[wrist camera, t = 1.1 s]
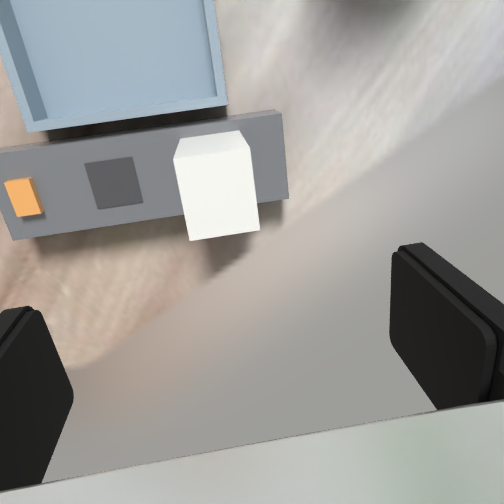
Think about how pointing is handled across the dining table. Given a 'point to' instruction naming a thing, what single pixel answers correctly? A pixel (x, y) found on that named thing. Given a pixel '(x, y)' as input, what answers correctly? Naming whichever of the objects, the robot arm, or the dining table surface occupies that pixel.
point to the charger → (216, 185)
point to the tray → (110, 59)
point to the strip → (123, 174)
